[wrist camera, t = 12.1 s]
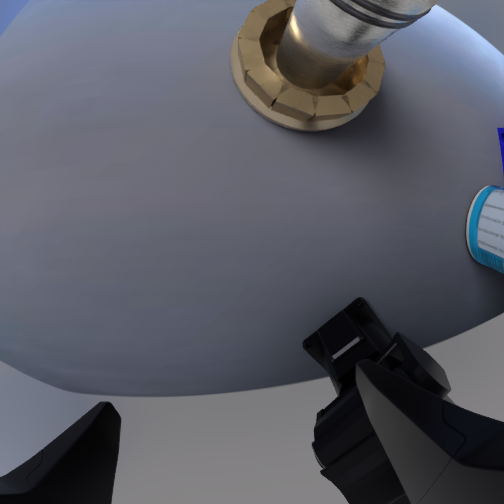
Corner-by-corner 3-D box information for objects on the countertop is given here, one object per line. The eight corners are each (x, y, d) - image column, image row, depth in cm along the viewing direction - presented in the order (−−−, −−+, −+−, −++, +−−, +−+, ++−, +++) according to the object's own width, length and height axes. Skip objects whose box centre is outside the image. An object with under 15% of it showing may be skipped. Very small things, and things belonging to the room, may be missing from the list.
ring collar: (391, 86, 17) (416, 76, 14) (298, 160, 19) (312, 159, 15) (304, -5, 15) (315, -29, 11) (201, 58, 16) (194, 37, 13)
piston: (348, 83, 16) (460, 17, 5) (289, 98, 16) (363, 8, 5) (323, 30, 15) (399, -66, 3) (264, 42, 15) (296, -78, 4)
